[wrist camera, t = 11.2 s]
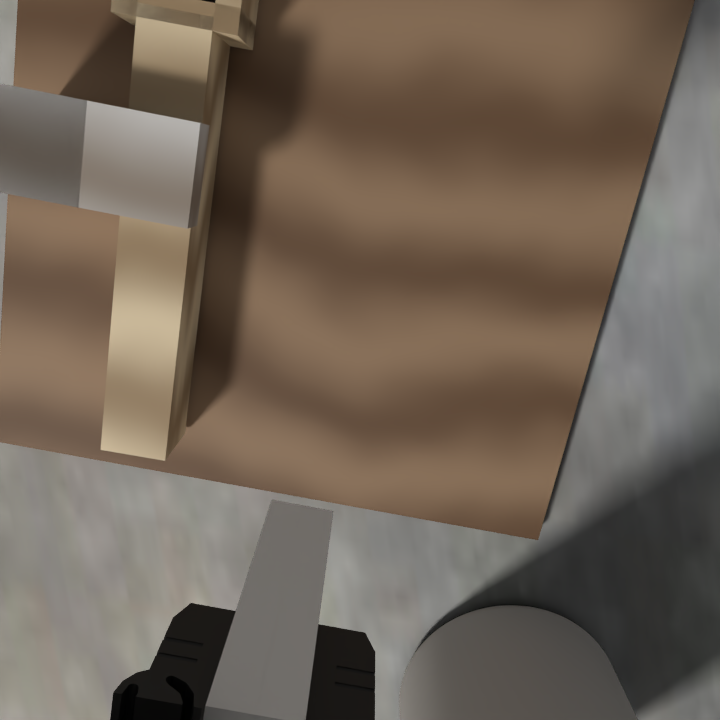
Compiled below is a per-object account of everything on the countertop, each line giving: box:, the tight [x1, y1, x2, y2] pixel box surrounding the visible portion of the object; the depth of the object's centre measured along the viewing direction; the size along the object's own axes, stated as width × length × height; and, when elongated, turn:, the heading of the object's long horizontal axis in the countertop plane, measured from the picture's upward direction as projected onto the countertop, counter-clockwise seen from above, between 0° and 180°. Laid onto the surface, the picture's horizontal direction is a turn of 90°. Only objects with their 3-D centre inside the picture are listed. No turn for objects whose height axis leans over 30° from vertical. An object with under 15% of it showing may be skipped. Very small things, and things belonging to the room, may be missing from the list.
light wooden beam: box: [101, 0, 259, 461], centre depth 30 cm, size 24×5×4 cm, turn 170°
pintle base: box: [0, 0, 695, 540], centre depth 30 cm, size 27×29×7 cm
